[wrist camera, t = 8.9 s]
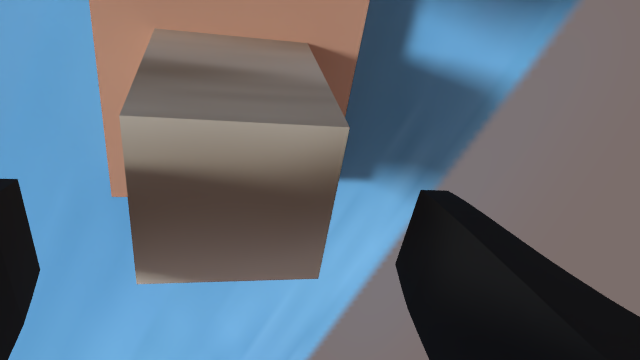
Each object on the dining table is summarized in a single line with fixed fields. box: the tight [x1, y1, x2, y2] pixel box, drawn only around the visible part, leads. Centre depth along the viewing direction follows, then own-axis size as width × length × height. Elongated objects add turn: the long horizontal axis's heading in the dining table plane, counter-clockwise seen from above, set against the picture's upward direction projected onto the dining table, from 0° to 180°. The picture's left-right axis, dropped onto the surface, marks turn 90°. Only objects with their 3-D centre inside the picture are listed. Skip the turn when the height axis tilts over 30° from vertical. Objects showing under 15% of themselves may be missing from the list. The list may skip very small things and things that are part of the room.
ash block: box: [119, 28, 350, 284], centre depth 11 cm, size 4×4×5 cm
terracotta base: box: [89, 0, 370, 197], centre depth 14 cm, size 7×7×2 cm
